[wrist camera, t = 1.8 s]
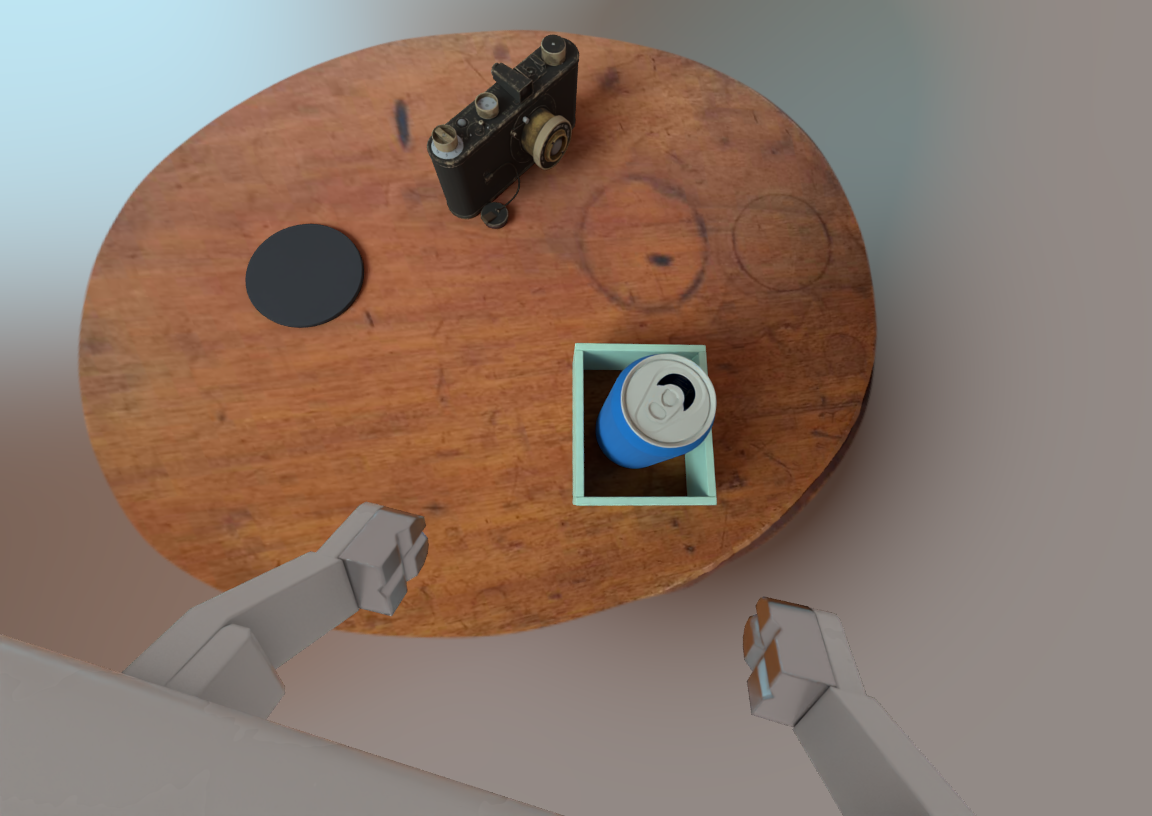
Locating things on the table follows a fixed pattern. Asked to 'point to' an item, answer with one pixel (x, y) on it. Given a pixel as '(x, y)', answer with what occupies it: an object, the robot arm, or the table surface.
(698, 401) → the beverage can
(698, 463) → the box frame
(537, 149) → the camera
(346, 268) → the coaster
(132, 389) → the table surface
